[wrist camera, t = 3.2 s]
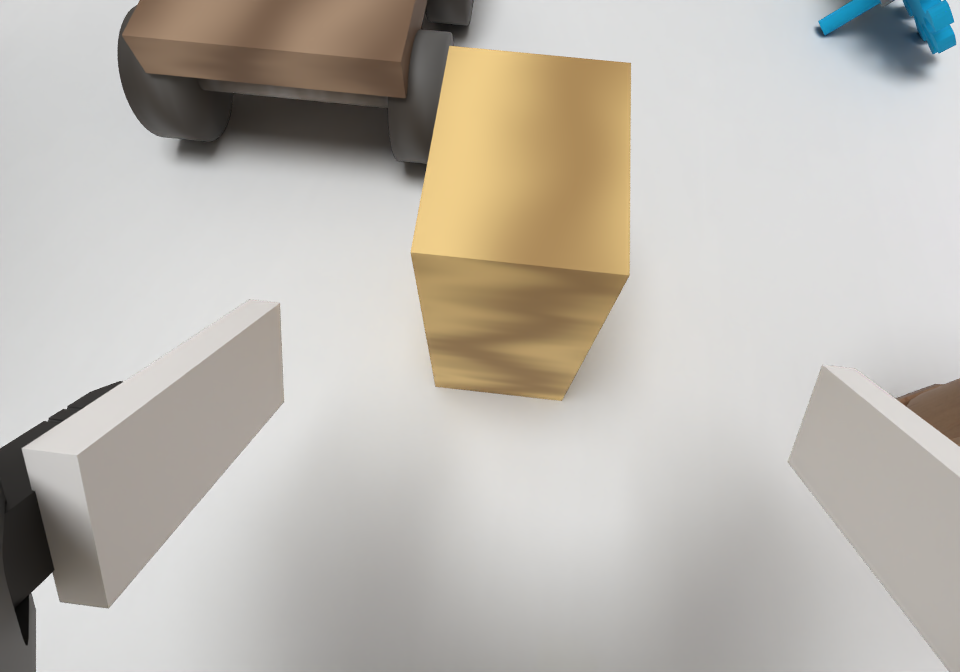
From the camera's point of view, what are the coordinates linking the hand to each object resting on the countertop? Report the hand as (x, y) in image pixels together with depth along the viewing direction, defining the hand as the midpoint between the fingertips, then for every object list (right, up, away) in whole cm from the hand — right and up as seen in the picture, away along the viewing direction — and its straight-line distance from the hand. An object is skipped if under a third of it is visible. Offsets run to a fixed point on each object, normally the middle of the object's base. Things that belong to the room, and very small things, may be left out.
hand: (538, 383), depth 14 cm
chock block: (0, +2, +14) cm, 14 cm away
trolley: (-10, +18, +21) cm, 29 cm away
